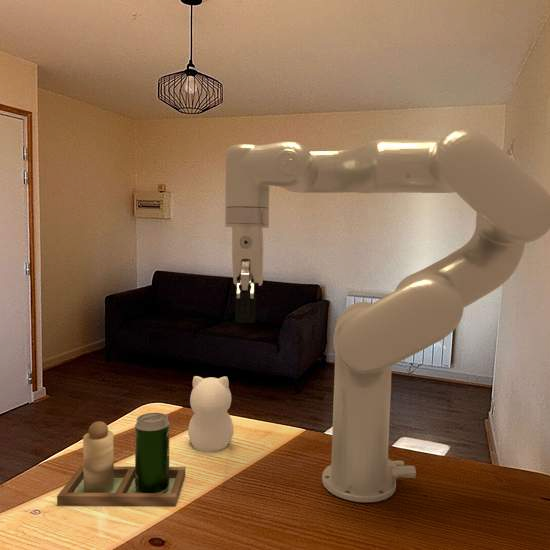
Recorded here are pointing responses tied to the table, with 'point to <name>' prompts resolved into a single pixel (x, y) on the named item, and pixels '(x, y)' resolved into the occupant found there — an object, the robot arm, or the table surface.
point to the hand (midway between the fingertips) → (246, 317)
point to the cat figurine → (210, 414)
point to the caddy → (121, 490)
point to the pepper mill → (98, 459)
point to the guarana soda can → (152, 453)
